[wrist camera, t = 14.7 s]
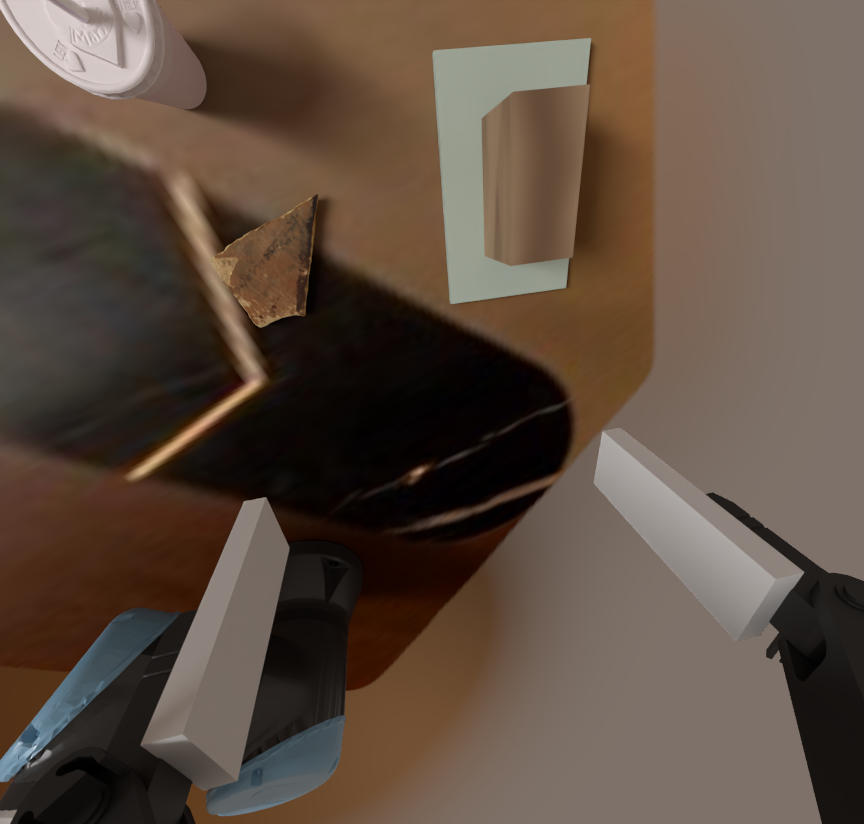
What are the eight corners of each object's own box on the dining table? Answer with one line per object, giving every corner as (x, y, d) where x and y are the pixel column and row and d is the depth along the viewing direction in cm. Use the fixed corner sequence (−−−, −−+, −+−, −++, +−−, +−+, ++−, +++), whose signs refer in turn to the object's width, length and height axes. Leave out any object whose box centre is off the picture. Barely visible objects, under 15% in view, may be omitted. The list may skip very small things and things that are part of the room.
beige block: (542, 112, 27) (590, 84, 21) (535, 249, 32) (572, 257, 26) (481, 118, 27) (513, 91, 21) (484, 256, 32) (510, 266, 26)
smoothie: (176, 151, 26) (6, 96, 14) (96, 39, 22) (-221, -161, 10) (248, 105, 25) (135, 6, 13) (176, -17, 22) (-63, -300, 10)
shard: (319, 194, 29) (316, 193, 27) (366, 281, 33) (366, 284, 31) (211, 255, 30) (202, 258, 28) (269, 332, 34) (264, 338, 32)
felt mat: (563, 286, 35) (566, 287, 35) (449, 302, 34) (451, 304, 34) (586, 41, 26) (591, 38, 26) (432, 53, 25) (433, 50, 25)
